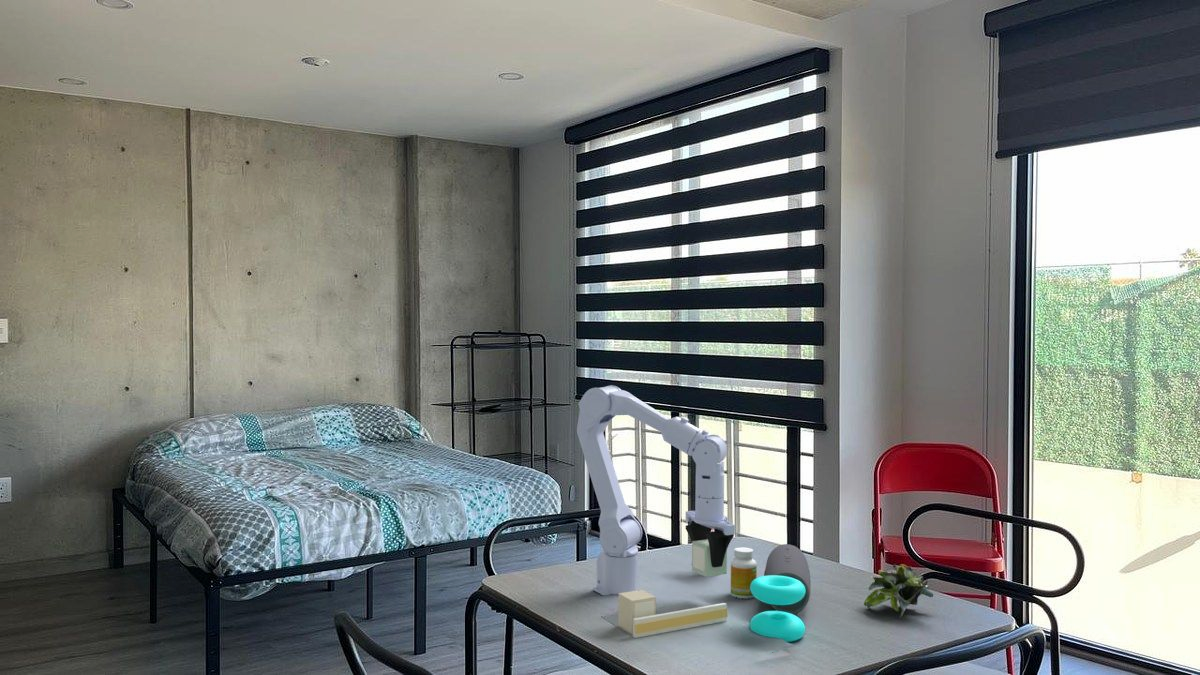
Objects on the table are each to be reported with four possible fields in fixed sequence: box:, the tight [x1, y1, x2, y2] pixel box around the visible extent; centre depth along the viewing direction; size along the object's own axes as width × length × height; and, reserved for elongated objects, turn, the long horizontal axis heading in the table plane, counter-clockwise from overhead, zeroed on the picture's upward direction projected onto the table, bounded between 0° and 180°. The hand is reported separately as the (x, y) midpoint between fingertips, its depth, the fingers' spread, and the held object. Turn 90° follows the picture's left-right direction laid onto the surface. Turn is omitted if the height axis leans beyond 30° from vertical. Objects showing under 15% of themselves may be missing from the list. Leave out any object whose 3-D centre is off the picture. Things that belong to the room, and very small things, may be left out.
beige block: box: [617, 589, 657, 634], centre depth 162 cm, size 5×5×6 cm
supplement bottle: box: [730, 546, 758, 600], centre depth 185 cm, size 5×5×10 cm
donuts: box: [749, 575, 806, 643], centre depth 162 cm, size 10×10×10 cm
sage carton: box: [691, 539, 728, 578], centre depth 178 cm, size 5×5×6 cm
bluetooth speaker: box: [763, 543, 812, 615], centre depth 181 cm, size 23×9×10 cm, turn 168°
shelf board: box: [600, 601, 728, 639], centre depth 167 cm, size 13×20×4 cm, turn 118°
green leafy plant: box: [863, 563, 934, 619], centre depth 175 cm, size 11×11×12 cm
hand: (709, 563), depth 178 cm, fingers closed on sage carton, 5 cm apart
